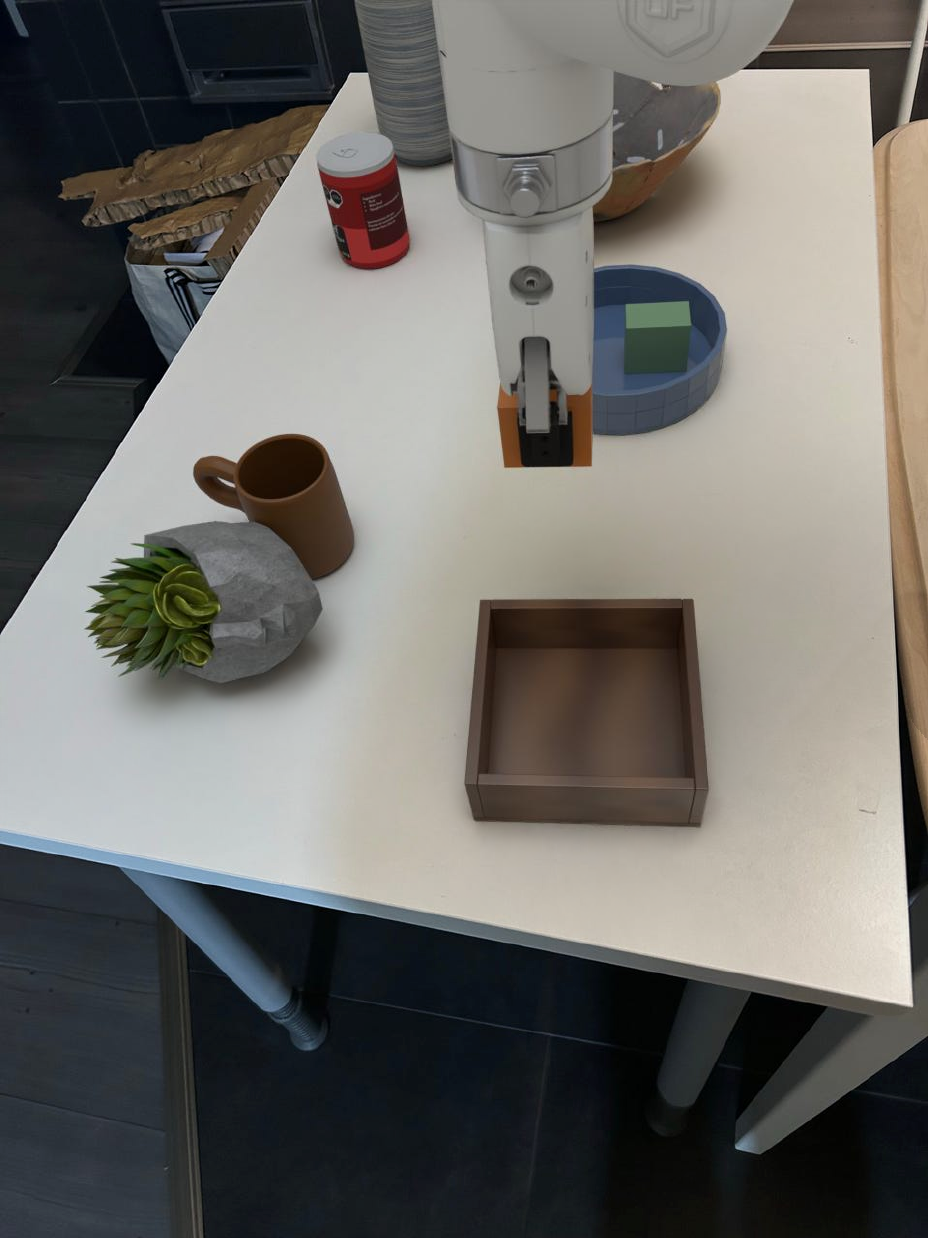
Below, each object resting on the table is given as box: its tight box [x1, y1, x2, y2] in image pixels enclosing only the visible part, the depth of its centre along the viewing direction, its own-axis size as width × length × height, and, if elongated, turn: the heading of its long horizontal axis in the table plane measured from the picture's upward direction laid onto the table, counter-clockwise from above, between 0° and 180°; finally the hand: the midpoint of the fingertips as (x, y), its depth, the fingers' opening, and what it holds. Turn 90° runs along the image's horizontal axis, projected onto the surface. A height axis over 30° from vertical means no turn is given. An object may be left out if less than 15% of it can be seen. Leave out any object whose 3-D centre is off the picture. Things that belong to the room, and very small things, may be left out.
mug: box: [192, 433, 355, 580], centre depth 73 cm, size 12×8×9 cm, turn 74°
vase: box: [353, 0, 453, 167], centre depth 103 cm, size 12×12×23 cm
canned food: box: [315, 131, 410, 270], centre depth 96 cm, size 8×8×11 cm
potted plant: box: [84, 520, 323, 684], centre depth 66 cm, size 12×13×15 cm
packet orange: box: [496, 381, 594, 469], centre depth 57 cm, size 6×3×5 cm, turn 84°
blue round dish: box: [592, 264, 728, 436], centre depth 83 cm, size 18×18×4 cm
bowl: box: [593, 71, 722, 223], centre depth 98 cm, size 25×25×10 cm
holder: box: [463, 597, 710, 828], centre depth 61 cm, size 15×14×6 cm
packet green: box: [624, 301, 691, 374], centre depth 82 cm, size 6×3×5 cm, turn 86°
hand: (549, 437), depth 58 cm, fingers closed on packet orange, 3 cm apart
